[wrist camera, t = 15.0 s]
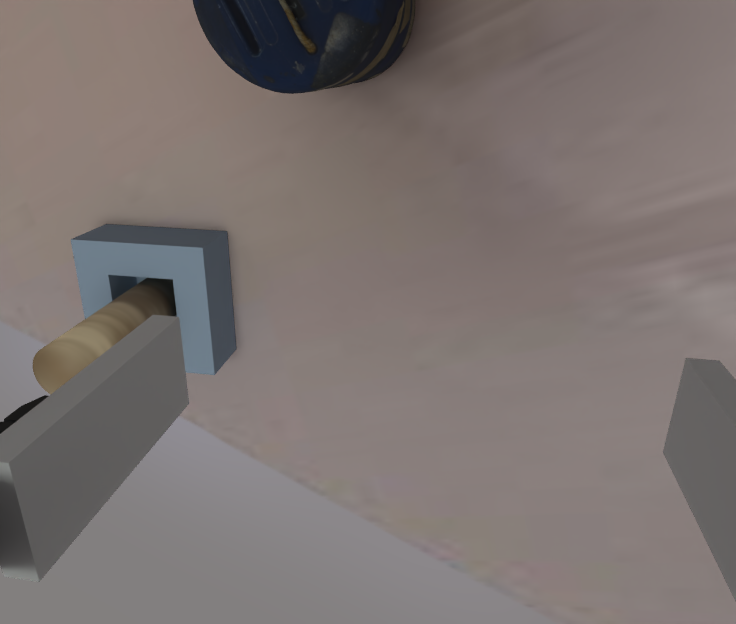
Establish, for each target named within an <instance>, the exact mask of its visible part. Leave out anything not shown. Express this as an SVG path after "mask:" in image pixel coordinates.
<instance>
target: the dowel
mask: <svg viewBox="0 0 736 624" xmlns="http://www.w3.org/2000/svg"><path fill="white" fill-rule="evenodd" d="M152 315H163V316H176V315H177V312H176V303H175V295H174V286H173V279H160V278H146V279H144V280H143V281H141V282H140V283H138V284H137V285H135V286H134V287H132V288H131V289H129V290H128V291H126V292H125V293H123V294H122V295H120V296H119V297H117V298H116V299H114V300H113V301H112V302H110V303H109V304H107V305H106V306H104V307H103V308H101V309H100V310H98V311H97V312H95V313H94V314H92V315H91V316H89V317H88V318H86V319H85V320H83V321H82V322H80V323H79V324H77V325H76V326H75V327H73V328H72V329H70V330H69V331H67V332H66V333H64V334H63V335H61V336H60V337H58V338H57V339H55V340H54V341H52V342H51V343H49V344H48V345H46V346H45V347H43V348H42V349H41V350H39V351H38V352H37V353H36V355H35V357H34V360H33V372H34V375H35V377H36V379H37V381H38V383H39V384H40V385H41V386H42V388H43V389H44V390H45V391H47V392H48V393H49V394H52V393H53V392H55V391H56V390H57V389H59V388H60V387H61V386H62V385H64V384H65V383H66V382H68V381H69V380H70V379H71V378H73V377H74V376H75V375H77V374H78V373H79V372H80V371H82V370H83V369H84V368H85V367H87V366H88V365H89V364H91V363H92V362H93V361H94V360H96V359H97V358H98V357H100V356H101V355H102V354H103V353H105V352H106V351H107V350H109V349H110V348H111V347H112V346H114V345H115V344H116V343H118V342H119V341H120V340H121V339H123V338H124V337H125V336H126V335H128V334H129V333H130V332H132V331H133V330H134V329H135V328H137V327H138V326H139V325H141V324H142V323H143V322H144V321H146V320H147V319H148V318H150V317H151V316H152Z"/></svg>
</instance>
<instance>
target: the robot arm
mask: <svg viewBox="0 0 736 624" xmlns="http://www.w3.org/2000/svg"><path fill="white" fill-rule="evenodd" d="M188 404H189V398H188V389H187V381H186V372H185V363H184V355H183V346H182V337H181V329H180V320H179V317H175V316H163V315H152V316H151V317H150V318H148V319H147V320H146V321H144V322H143V323H142V324H141V325H139V326H138V327H137V328H135V329H134V330H133V331H132V332H130V333H129V334H128V335H126V336H125V337H124V338H123V339H121V340H120V341H119V342H118V343H116V344H115V345H114V346H112V347H111V348H110V349H109V350H107V351H106V352H105V353H103V354H102V355H101V356H100V357H98V358H97V359H96V360H94V361H93V362H92V363H91V364H89V365H88V366H87V367H85V368H84V369H83V370H82V371H80V372H79V373H78V374H77V375H75V376H74V377H73V378H71V379H70V380H69V381H68V382H66V383H65V384H64V385H62V386H61V387H60V388H59V389H57V390H56V391H55V392H53V393H52V394H51V395H50V396H42V397H40V398H38V399H36V400H34V401H32V402H29V403H27V404H25V405H23V406H21V407H19V408H18V409H17V410H16V411H14V412H13V413H12V414H10V415H9V416H8V417H6V418H5V419H4V422H0V566H1V569H2V573H3V576H5V577H12V578H18V579H25V580H32V581H38V582H40V580H41V579H42V578H43V577H44V576H45V574H46V573H47V572H48V571H49V570H50V569H51V567H52V566H53V565H54V564H55V563H56V561H57V560H58V559H59V558H60V557H61V555H62V554H63V553H64V552H65V551H66V549H67V548H68V547H69V546H70V545H71V544H72V542H73V541H74V540H75V539H76V538H77V536H78V535H79V534H80V533H81V532H82V530H83V529H84V528H85V527H86V526H87V524H88V523H89V522H90V521H91V520H92V518H93V517H94V516H95V515H96V514H97V513H98V511H99V510H100V509H101V508H102V506H103V505H104V504H105V503H106V502H107V501H108V499H109V498H110V497H111V496H112V495H113V493H114V492H115V491H116V490H117V489H118V487H119V486H120V485H121V484H122V483H123V481H124V480H125V479H126V478H127V477H128V476H129V474H130V473H131V472H132V471H133V470H134V468H135V467H136V466H137V465H138V464H139V463H140V461H141V460H142V459H143V458H144V456H145V455H146V454H147V453H148V452H149V451H150V449H151V448H152V447H153V446H154V445H155V443H156V442H157V441H158V440H159V439H160V438H161V436H162V435H163V434H164V433H165V432H166V430H167V429H168V428H169V427H170V426H171V424H172V423H173V422H174V421H175V420H176V418H177V417H178V416H179V415H180V414H181V413H182V411H183V410H184V409H185V408H186V407H187V405H188ZM663 453H664V455H665V457H666V459H667V462H668V464H669V466H670V468H671V470H672V472H673V474H674V476H675V478H676V480H677V482H678V484H679V486H680V488H681V490H682V492H683V494H684V496H685V498H686V501H687V503H688V505H689V507H690V509H691V511H692V513H693V515H694V517H695V519H696V521H697V523H698V525H699V527H700V529H701V531H702V533H703V535H704V537H705V539H706V542H707V544H708V546H709V548H710V550H711V552H712V554H713V556H714V558H715V560H716V562H717V564H718V566H719V568H720V570H721V572H722V574H723V576H724V578H725V581H726V583H727V585H728V587H729V589H730V591H731V593H732V595H733V597H734V599H735V601H736V380H735V379H734V378H733V376H732V375H731V374H730V373H729V371H728V370H727V369H726V368H725V367H724V365H723V364H722V363H721V362H720V361H717V360H705V359H693V358H686V360H685V364H684V368H683V372H682V376H681V380H680V384H679V388H678V393H677V397H676V401H675V405H674V409H673V413H672V417H671V421H670V425H669V429H668V434H667V438H666V442H665V446H664V450H663Z"/></svg>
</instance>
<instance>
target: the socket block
mask: <svg viewBox="0 0 736 624" xmlns="http://www.w3.org/2000/svg"><path fill="white" fill-rule="evenodd" d="M71 244H72V249H73V255H74V260H75V266H76V271H77V277H78V282H79V288H80V294H81V299H82V305H83V310H84V316H85V319H86V318H88V317H89V316H91V315H92V314H94V313H95V312H97V311H98V310H100V309H101V308H103V307H104V306H106V305H107V304H109V303H110V302H112V301H113V300H114V299H116V298H117V297H119V296H120V295H122V294H123V293H125V292H126V291H128V290H129V289H131V288H132V287H134V286H135V285H137V284H138V283H140V282H141V281H143V280H144V279H146V278H160V279H173V286H174V295H175V303H176V312H177V315H176V316H175V317H179V320H180V329H181V337H182V346H183V355H184V363H185V372H188V373H199V374H210V375H215V374H216V373H217V371H218V370H219V369H220V368H221V367H222V366H223V364H224V363H225V362H226V361H227V360H228V358H229V357H230V356H231V355H232V354H233V352H234V351H235V350H236V339H235V326H234V314H233V301H232V288H231V275H230V262H229V249H228V236H227V231H215V230H197V229H180V228H163V227H146V226H129V225H112V224H105V225H103V226H101V227H98V228H96V229H94V230H91V231H89V232H87V233H85V234H82V235H80V236H78V237H75V238H73V239H71Z"/></svg>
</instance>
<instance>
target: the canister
mask: <svg viewBox="0 0 736 624" xmlns="http://www.w3.org/2000/svg"><path fill="white" fill-rule="evenodd" d="M193 4H194V8H195V11H196V14H197V17H198V20H199V22H200V25H201V27H202V29H203V31H204V33H205V35H206V37H207V39H208V41H209V42H210V44H211V46H212V47H213V48H214V50H215V51H216V52H217V54H218V55H219V56H220V57H221V59H222V60H223V61H224V62H225V63H226V64H227V65H228V66H229V67H230V68H231V69H232V70H234V71H235V72H236V73H237V74H239V75H240V76H242V77H243V78H244V79H246V80H247V81H249V82H251V83H253V84H255V85H257V86H260V87H262V88H265V89H268V90H271V91H275V92H280V93H291V94H294V93H305V92H313V91H318V90H322V89H328V88H334V87H340V86H345V85H348V84H352V83H357V82H362V81H365V80H368V79H371V78H374V77H376V76H378V75H379V74H381V73H382V72H384V71H385V70H386V69H387V68H389V67H390V66H391V65H392V64H393V63H394V62H395V61H396V59H397V58H398V57H399V55H400V54H401V52H402V51H403V49H404V47H405V46H406V44H407V42H408V39H409V36H410V33H411V30H412V26H413V21H414V15H415V0H193Z"/></svg>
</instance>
